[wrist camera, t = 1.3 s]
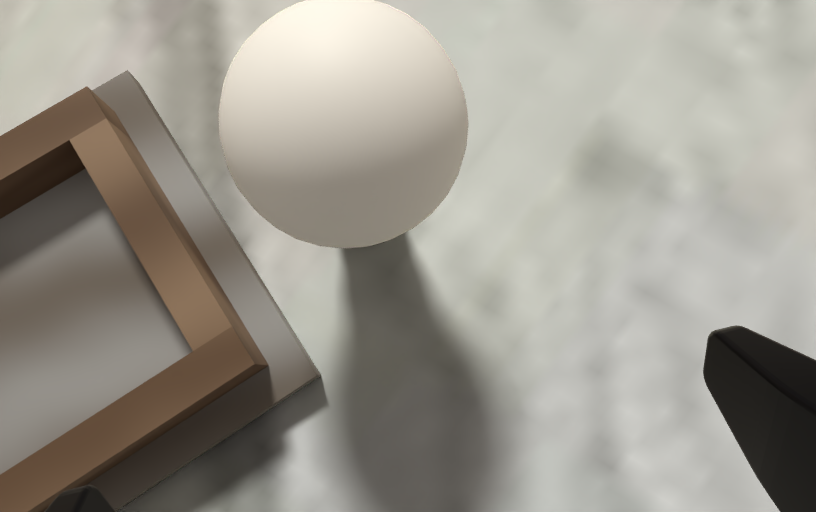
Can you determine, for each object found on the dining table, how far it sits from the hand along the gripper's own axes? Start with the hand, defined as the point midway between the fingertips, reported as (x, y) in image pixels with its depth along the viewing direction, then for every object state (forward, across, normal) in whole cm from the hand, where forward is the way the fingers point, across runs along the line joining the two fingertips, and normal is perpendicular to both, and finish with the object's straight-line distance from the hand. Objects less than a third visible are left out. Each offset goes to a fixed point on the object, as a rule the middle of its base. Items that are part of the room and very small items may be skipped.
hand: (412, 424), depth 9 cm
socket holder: (+13, +12, +6) cm, 19 cm away
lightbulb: (+14, 0, +5) cm, 15 cm away
